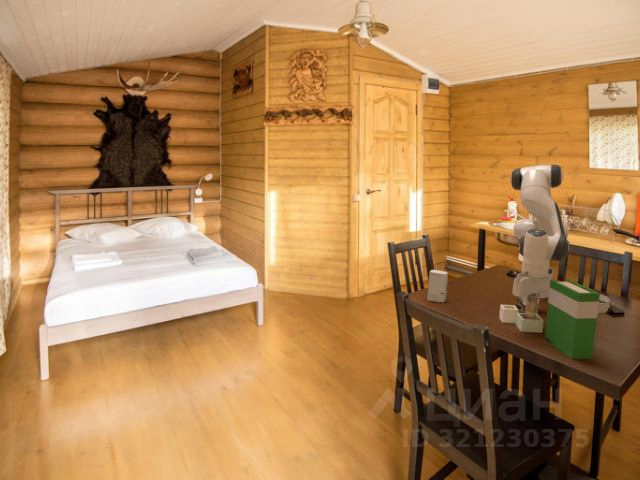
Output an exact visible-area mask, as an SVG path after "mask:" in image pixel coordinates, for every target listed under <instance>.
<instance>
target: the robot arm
mask: <svg viewBox="0 0 640 480" xmlns="http://www.w3.org/2000/svg"><path fill="white" fill-rule="evenodd" d="M563 180H564V171H563V169H562V167H561V166H560V165H558V164H549V165H548V164H539V165H533V166H525V167H517V168H515V169H513V170H512V172H511V174H510V177H509V181H510V185H511V187H512V189H513V190H516V191H520V203H521V205H522V206H523V207H524V209H526V211H527V213H528V214H529V215H530V216H532V217H533V218H523V219H522V218H521V219H518V220H516V222H515V223H514V225H513V229H512V230H513V233H514V236H515V237H516V238H517V239H518V243H519V245H518V246H519V248H518V251H517V252H518V253H519V254H520V255H521V256H522V257H523V259H522V261H521V272H520V273H518V274H517V276H515V278H514V280H513V286H512V294H513V296H516V297H517V296H518V297H521V298H522V300H523V305H529V301H528V300H527V297H528V295H531V294H535V293H536V302H535V303H537V302H539V303H540V299H548V298H549V288H550V280H553V274H554V268H552V267H550V260H551V261H554V262H555V261H556V262H561V261H563V260H564V259H566V258H567V257H568V256H569V252H570V244H569V242H568V237H569V235H570V230H569V228H568V225H567V224H566V223H565V222H564V221H563V219H562V215H561V212H560V208H559V205H558V203H557V202H555V201H554V200H553V199H552V190H551V188H552V189H554V188H558V187H560V186H561V185H562V182H563ZM534 218H535V219H534Z"/></svg>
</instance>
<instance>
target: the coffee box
mask: <svg viewBox="0 0 640 480" xmlns="http://www.w3.org/2000/svg"><path fill="white" fill-rule="evenodd" d="M516 298H517V299H516V305H515V306H516V308H517V309H518V312H519V313H525V307H526V305H523V300H522V298H521V297H518V296H516ZM539 305H540V301H539V302H537V303H535V314H538V313H539ZM538 315H539V314H538Z"/></svg>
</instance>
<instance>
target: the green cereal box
mask: <svg viewBox="0 0 640 480" xmlns="http://www.w3.org/2000/svg"><path fill="white" fill-rule="evenodd" d="M600 294H601V293H600V292H597V291H596V290H593V289H592V288H590V287H587V286H584V285H583V284H580V283H578V282H575V281H574V280H571V279H566V281H556V280H554V279H552V280H550V288H549V297H548V298H547V310H546V311H547V312H546V319H545V320H546V321H545V329H544V330H545V331H544V332H545V334H544V337H545V339H547V343H549V344H551V345H552V346H553V347H555V348H557V349H558V350H559V351H560V352H561V353H563V354H564V355H565V356H567V357H568V358H570V359H571V360H584V359H585V360H586V359H587V360H588V359H589V360H590V359H592V360H593V357H594V355H593V354H594V347H595V340H596V339H595V338H596V329H597V323H598V322H597V320H598V314H599V313H598V305H599V296H600Z"/></svg>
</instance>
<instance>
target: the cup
mask: <svg viewBox="0 0 640 480" xmlns="http://www.w3.org/2000/svg"><path fill="white" fill-rule="evenodd" d="M516 306H517V305H514V304H513V305H512V304H500V305H499V317H498V318H499V320H500V322H502V324H516V313H519V311H518V309H517V308H516Z"/></svg>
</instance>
